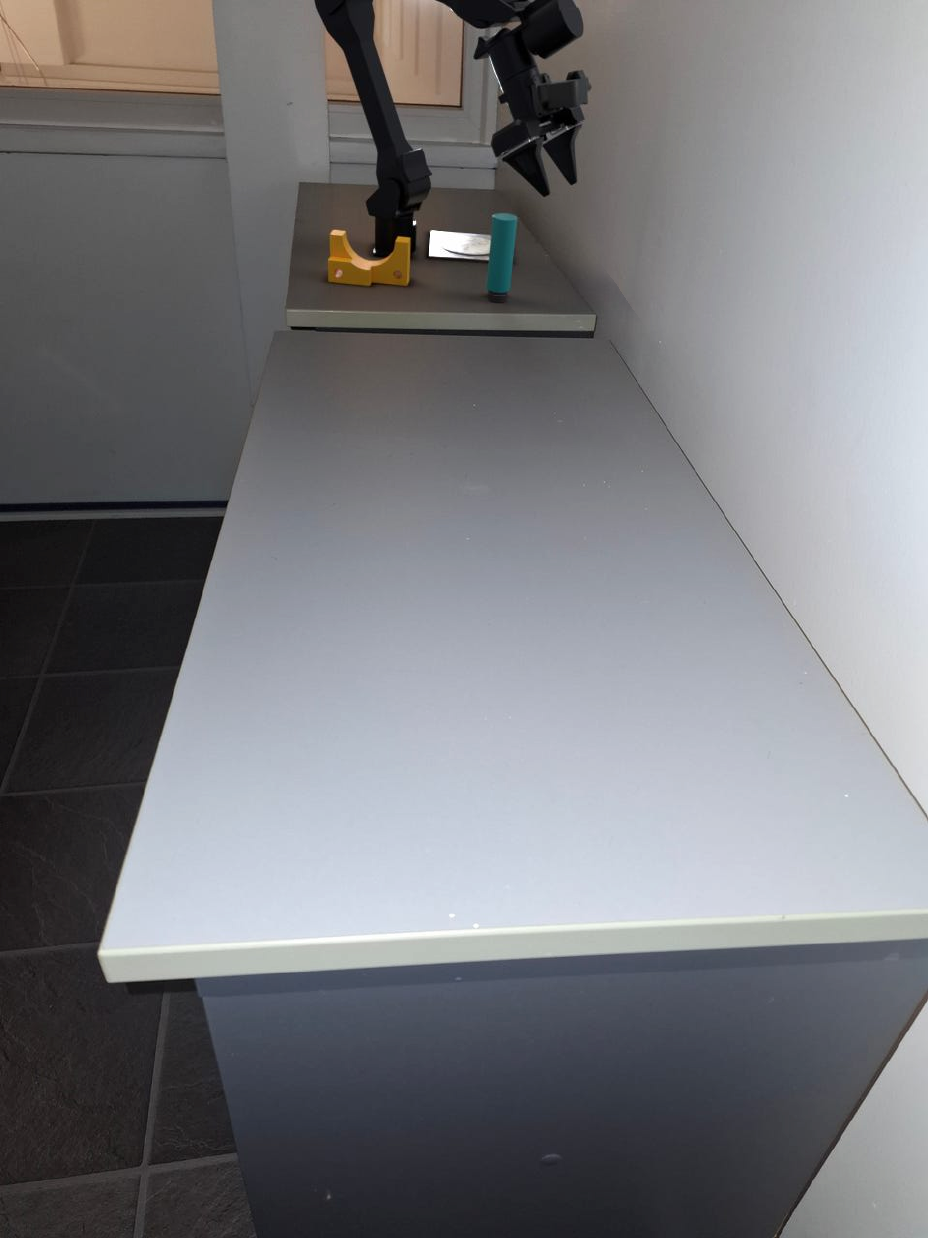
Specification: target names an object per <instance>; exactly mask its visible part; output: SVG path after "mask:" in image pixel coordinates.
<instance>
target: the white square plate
mask: <svg viewBox="0 0 928 1238" xmlns="http://www.w3.org/2000/svg"><path fill="white" fill-rule="evenodd" d="M490 242H491V234H479V233H478V234H477V233H467V232H466V233H465V232H452V231H438V230H430V237H429V251H428V259H434V260H435V259H437V260H447V261H448V260H449V261H461V262H462V261H464V262H478V263H489V253H490Z"/></svg>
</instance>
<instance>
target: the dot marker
mask: <svg viewBox="0 0 928 1238" xmlns="http://www.w3.org/2000/svg"><path fill="white" fill-rule="evenodd" d="M517 224H518V217H517V215H515V214H512V213H507V212H498V213H494V214H493V215H492V220H491V230H490V232H491V233H490V235H491V242H490V253H489V262H488V267H487V275H486V276H487V277H486V290H487V300H488V301H490V302H492V303H497V304H500V303H506V302H507V301H508V294H507V293H508V292H510V290H511V284H512V283H511V282H512V273H513V265H514V264H513V263H514V254H515V244H516V237H517V236H516V235H517V226H518V225H517ZM489 293H490V294H489ZM491 294H492V295H491ZM493 295H506V296H493Z"/></svg>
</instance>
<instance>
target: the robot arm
mask: <svg viewBox="0 0 928 1238" xmlns="http://www.w3.org/2000/svg"><path fill="white" fill-rule="evenodd" d="M313 1H314V6H315V9H316V12H317V14H318V16H319V18H320V20H321V22H322V24H323V27H324V28H325V31H326V32H327V34H328V35H329V36H330V37H331V38H332V39H333V41H334V42H335V43H336V44H337V45H338V46H339V48H340V49H341V50H342V52H343V55H344V57H345V61H346V63H347V67H348V69H349V72H350V75H351V78H352V81H353V84H354V87H355V90H356V93H357V96H358V99H359V101H360V105H361V107H362V110H363V114H364V116H365V119H366V123H367V125H368V128H369V131H370V134H371V137H372V140H373V143H374V146H375V149H376V164H375V165H376V167H375V176H376V181H377V185H378V188H377V189H376V190H375V191H374V192H373V193H372V194H371V195H370V196H369V197H368V198H367V199H366V200H365V207H366V210H367V213H368V216H370V217H374V249H373V256H375V257H386V258H387V257H388V256H389V255H391V253H392V252H393V251H394V248H395V241H396V239H397V237H398V236H399V237H408V238H410V259H412V258H413V256H414V253H415V252H416V250H417V238H418V237H417V234H418V223H417V221H416V220H415V221H414V218H415V217H414V215H415V212H419V211H420V210H421V207H422V206H423V203H424V201H425V200H426V199H427V197H428V196H429V194H430V192H431V191H430V190H431V189H432V182H431V181H432V180H431V178H430V177H431V176H433V173H432V171H431V170H430V168H429V166H428V163H427V159H426V153H425V151H424V149H423V148H418V149H414V148H413V147H412V146H411V145H410V144H409V142H408V140H407V138H406V135H405V132H404V130H403V129H404V128H403V126H402V123H401V120H400V117H399V114H398V111H397V108H396V105H395V102H394V98H393V95H392V92H391V90H390V87H389V83H388V80H387V77H386V73H385V71H384V68H383V64H382V61H381V59H380V55H379V52H378V50H377V47H376V43H375V39H374V36H375V35H374V34H375V23H376V22H375V21H376V14H375V9H374V2H375V1H376V0H313ZM435 1H436V2H438V3H441V4H443V5H445V6H446V7H447V8H449V9H450V10H451V11H452V12H453V13H454V14H455V16H456V17H458V18H460V19H461V20H463V21H464V22H465V23H467V24H469V25H470V26H472V27H473V28H475V29H479V30H486V29H492V28H501V29H499V30H498V31H497V32H495V33H494V34H493V35H491V36H489V35H481V36H478V37H477V45H476V47H475V49H474V52H473V56H472V58H473V60H474V61H479V60H483V59H488V58H489V61H490V63H491V66H492V68H493V71H494V74H495V76H496V79H497V82H498V85H499V87H500V90H501V92H502V94H500V95H499V96H498V97H497V98H498V101H499V103H500V105H504V104H506V105H507V108H508V111H509V113H510V116H511V119H512V122H510V123H508V124H507V125H506V126H504V127H502V128H501V129H499V130H497V131H496V132H494V133H493V134H492V136H491V140H490V144H489V145H490V147H491V149H492V152H493V155H494V157H495V158H499V157H502V156H503V157H502V158H501V161H502V163H507V164H508V165H509V166H510V167H511V168H512V169H513V170H514V171H516V173H518V174H519V175H520V177H522V178H523V179H524V180H525V181H527V183H528V184H529V185H530V186H531V187H532V188H533V189H534V190H536V191H537V192H538V193H539V195H541V196H542V197H543V198H546V197H548V196H550V194H551V189H550V185H549V180H548V177H547V172H546V169H545V165H544V161H543V158H542V148H543V149H544V150H545V152H546V153H547V155H548V157H549V158H550V159H551V160H552V162H553V163H554V165H555V167H556V168H557V169H558V170H559V172H560V174H561V175H562V177H564V179H565V180H566V182H567V183H568V184H569V185H570V186H573V185H575V184H578V172H577V171H578V170H577V159H576V139H577V138H578V135H579V133H580V131H581V129H582V127H583V123H582V122H584V121H585V120H586V118H585V116H584V113H583V110H582V107H581V105H588V104H589V95H588V93H589V92H590V91H591V90H592V87H593V86H592V84H591V83H590V82H589V76H586V74H585V72H584V70H583V69H578V70H572V71H569V72H567V74H566V78H565V80H559V81H554V82H552V80H551V77H550V75H549V74H548V73H547V72H543V73H541V72H540V69H539V66H538V63H537V61H536V58H535V57H539V58H541V59H542V60H548V59H549V58H551V57H553V56H554V55H555V54H557V53H559V52H560V51H561V50H563V49H565V48H566V47H567V46H569V45H570V44H572V43H574V42H575V41H577V40H578V39H580V38H582V37H583V34H584V30H585V29H584V27H585V26H584V21H583V16H582V13H581V11H580V8H579V7H578V6H577V5H576V2H575V1H574V0H533V1H531V0H435ZM518 22H519V23H520V24H518V25H517V26H516V27H515V28H513V29H510V28H508V27H506V26H507V25H509V24H510V23H518ZM544 142H545V143H544Z"/></svg>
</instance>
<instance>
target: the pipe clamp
mask: <svg viewBox="0 0 928 1238" xmlns="http://www.w3.org/2000/svg"><path fill="white" fill-rule="evenodd" d="M329 254H330V255H329V256H330V257H328V259H327V271H328V272H327V279H328V282H329V283H336V284H337V283H338V284H348V285H357V286H365V287H370V286H371V285H372V283H376V284H385V285H393V286H404V287H408V284H409V283H410V274H411V273H410V270H411V269H410V268H411V264H410V263H411V258H410V238H408V237H399V236H398V237H397V239H396V241H395V248H394V251H393V252H392V253H391V255H389V256H388V257H387V256H386V257H385V258H383V259H379V260H369V259H365V258H363V257H361V256H360V255H359V254H357V253H356V252H355V250H353V248H352V246H351V245H350V243H349V240H348V236H347V231H346V230H342V229H341V230H340V229H332V230H331V232H330V233H329ZM397 271H399V272H400V273H398V272H397Z"/></svg>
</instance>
